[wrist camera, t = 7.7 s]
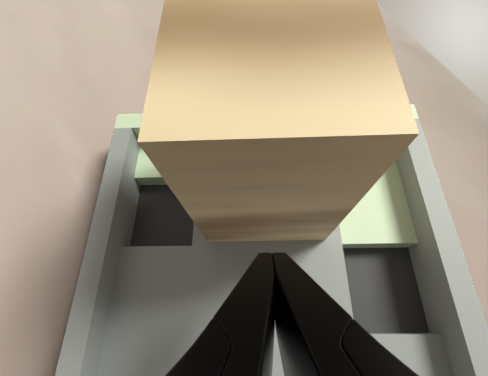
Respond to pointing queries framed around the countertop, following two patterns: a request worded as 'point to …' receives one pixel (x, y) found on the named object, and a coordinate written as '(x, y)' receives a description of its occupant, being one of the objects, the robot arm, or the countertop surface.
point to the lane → (244, 252)
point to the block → (273, 113)
